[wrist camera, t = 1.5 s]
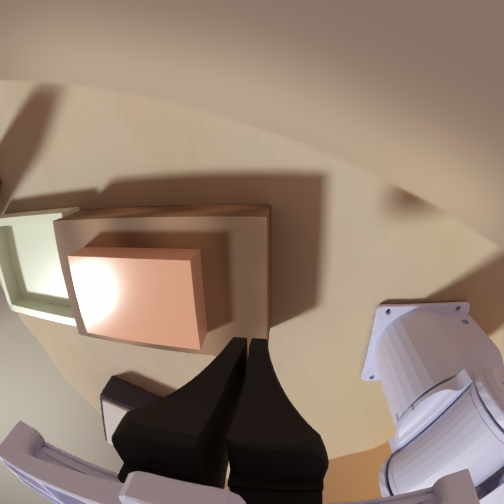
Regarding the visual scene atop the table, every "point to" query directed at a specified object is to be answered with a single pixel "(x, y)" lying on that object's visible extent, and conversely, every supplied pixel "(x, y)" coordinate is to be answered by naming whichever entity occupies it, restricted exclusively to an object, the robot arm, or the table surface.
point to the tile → (142, 294)
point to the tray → (34, 265)
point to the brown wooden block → (188, 237)
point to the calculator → (121, 403)
